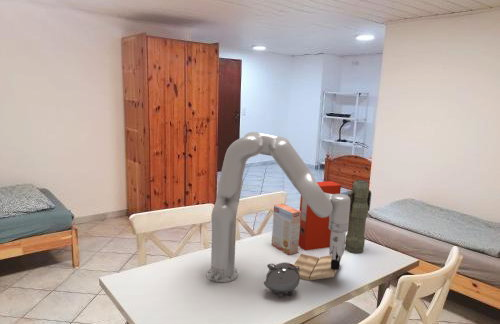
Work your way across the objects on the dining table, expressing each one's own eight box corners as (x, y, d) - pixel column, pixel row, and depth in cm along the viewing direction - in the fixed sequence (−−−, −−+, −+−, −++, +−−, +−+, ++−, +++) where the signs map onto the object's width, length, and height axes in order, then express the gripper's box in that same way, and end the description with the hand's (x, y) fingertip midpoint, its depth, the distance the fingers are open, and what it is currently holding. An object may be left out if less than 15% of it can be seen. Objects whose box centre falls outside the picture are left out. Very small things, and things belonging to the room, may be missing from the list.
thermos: (338, 248, 181) (345, 179, 174) (357, 244, 186) (364, 178, 179) (350, 255, 173) (357, 183, 166) (369, 252, 178) (377, 182, 171)
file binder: (335, 247, 182) (341, 184, 176) (304, 251, 176) (309, 186, 170) (326, 240, 189) (331, 181, 183) (296, 244, 183) (301, 182, 177)
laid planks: (310, 281, 147) (310, 277, 147) (288, 275, 151) (288, 272, 151) (320, 261, 166) (321, 257, 165) (300, 256, 169) (301, 253, 169)
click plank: (333, 276, 143) (332, 272, 143) (311, 280, 147) (310, 276, 147) (341, 256, 161) (340, 253, 161) (321, 260, 165) (320, 256, 165)
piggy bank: (257, 290, 139) (258, 262, 137) (289, 282, 146) (291, 255, 144) (272, 305, 129) (274, 275, 127) (306, 296, 136) (308, 267, 134)
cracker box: (298, 253, 173) (301, 211, 169) (288, 255, 170) (291, 212, 166) (280, 242, 185) (283, 202, 181) (271, 244, 181) (273, 204, 177)
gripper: (345, 233, 135) (341, 279, 139) (350, 221, 149) (347, 262, 152) (325, 230, 138) (321, 274, 141) (332, 218, 152) (329, 259, 155)
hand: (335, 268), depth 147 cm, fingers closed
